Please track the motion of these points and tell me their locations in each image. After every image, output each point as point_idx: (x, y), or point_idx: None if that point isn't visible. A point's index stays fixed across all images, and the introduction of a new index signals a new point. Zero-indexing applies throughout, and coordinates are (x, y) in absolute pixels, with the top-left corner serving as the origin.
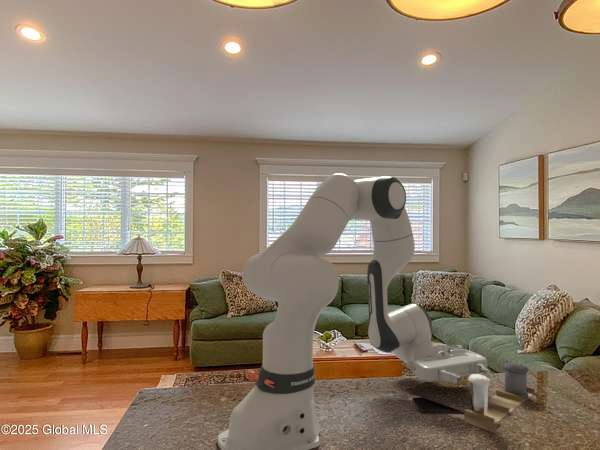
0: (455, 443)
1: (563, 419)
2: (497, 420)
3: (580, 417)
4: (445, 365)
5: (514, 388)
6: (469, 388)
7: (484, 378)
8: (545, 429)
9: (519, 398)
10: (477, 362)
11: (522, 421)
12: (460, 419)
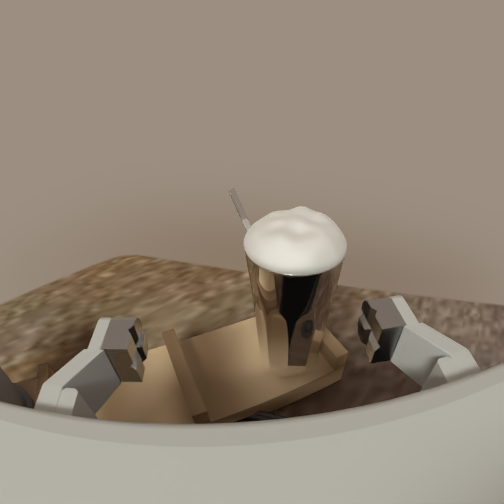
0: (415, 297)
1: (54, 315)
2: (254, 320)
3: (21, 309)
4: (435, 391)
5: (12, 389)
6: (333, 293)
7: (286, 210)
8: (142, 300)
9: (50, 373)
10: (41, 411)
11: (150, 339)
12: (346, 395)
